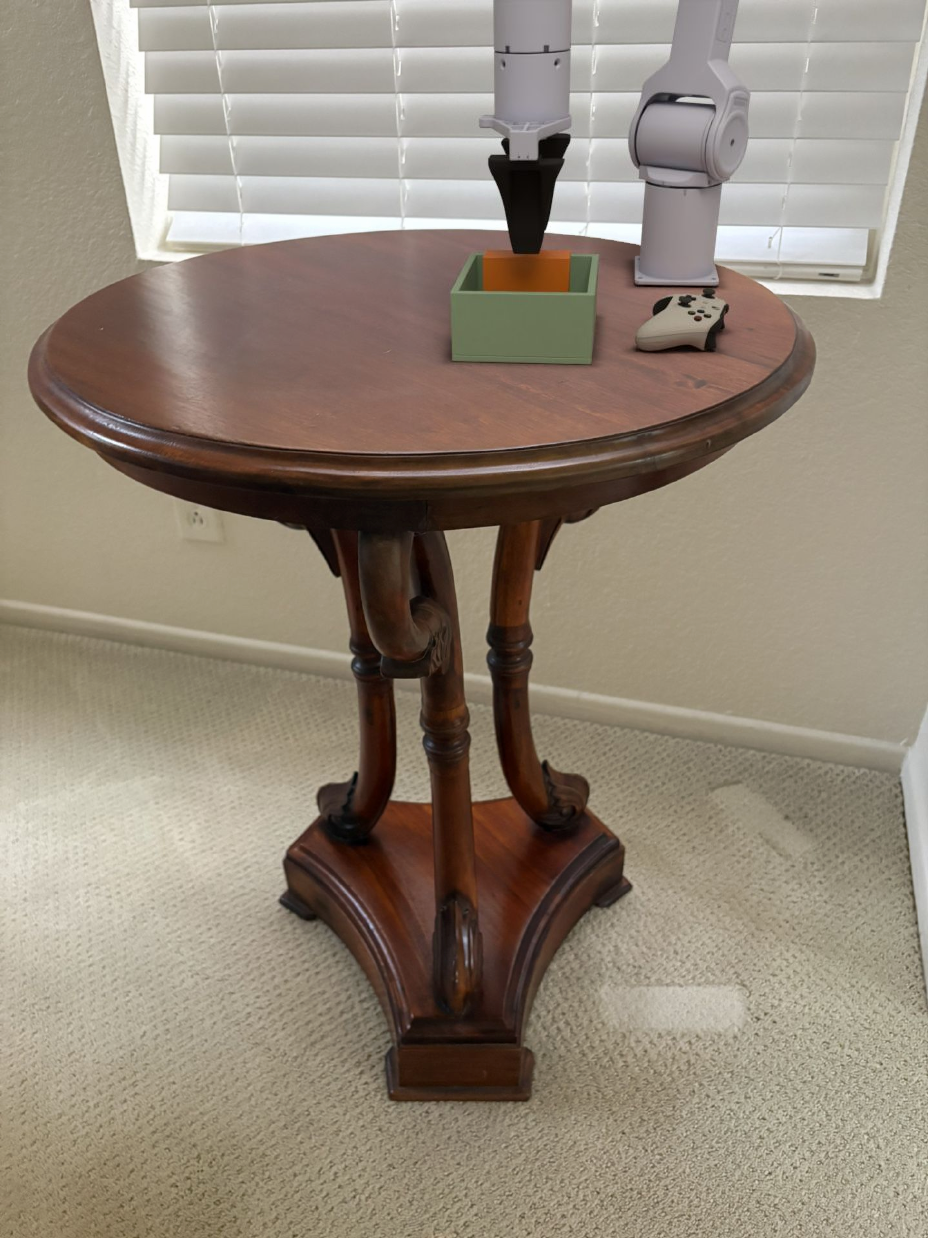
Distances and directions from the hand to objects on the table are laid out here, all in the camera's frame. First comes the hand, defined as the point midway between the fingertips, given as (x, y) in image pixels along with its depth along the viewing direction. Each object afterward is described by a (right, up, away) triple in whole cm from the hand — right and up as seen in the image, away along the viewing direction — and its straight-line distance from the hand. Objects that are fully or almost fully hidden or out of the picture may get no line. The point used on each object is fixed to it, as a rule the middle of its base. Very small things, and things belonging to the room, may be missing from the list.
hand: (530, 240), depth 82 cm
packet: (0, -7, +3) cm, 7 cm away
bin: (0, -7, +3) cm, 8 cm away
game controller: (+13, -7, +3) cm, 15 cm away
